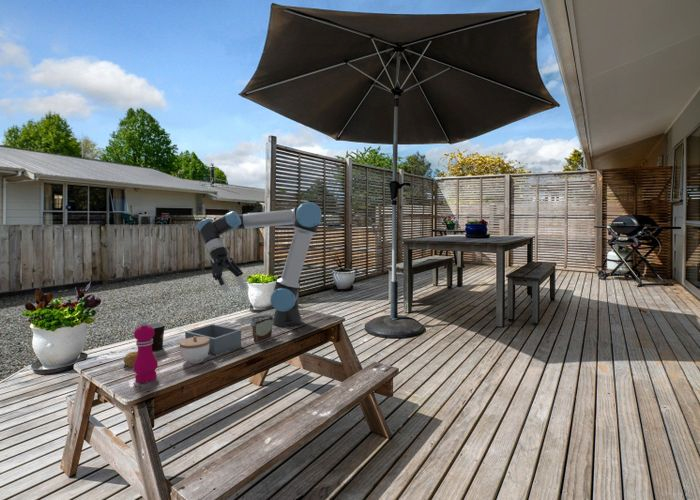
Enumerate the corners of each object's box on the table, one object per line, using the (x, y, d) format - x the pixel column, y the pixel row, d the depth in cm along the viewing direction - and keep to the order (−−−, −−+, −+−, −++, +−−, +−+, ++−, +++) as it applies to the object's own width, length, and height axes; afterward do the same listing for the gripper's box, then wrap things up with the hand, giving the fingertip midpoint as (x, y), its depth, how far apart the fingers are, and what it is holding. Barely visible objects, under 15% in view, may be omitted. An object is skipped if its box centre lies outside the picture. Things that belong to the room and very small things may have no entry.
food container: (263, 334, 173) (263, 313, 172) (273, 336, 170) (273, 315, 169) (244, 341, 162) (244, 319, 162) (254, 344, 159) (254, 321, 158)
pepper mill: (128, 381, 121) (126, 322, 120) (147, 373, 128) (145, 317, 127) (144, 385, 119) (142, 325, 117) (162, 376, 126) (160, 319, 124)
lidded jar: (175, 361, 139) (174, 337, 139) (201, 353, 148) (201, 330, 147) (188, 368, 133) (187, 343, 132) (215, 359, 141) (215, 336, 140)
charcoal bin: (213, 339, 166) (212, 323, 165) (241, 345, 157) (241, 330, 156) (185, 348, 153) (185, 331, 153) (214, 356, 144) (214, 339, 144)
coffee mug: (155, 353, 147) (154, 329, 146) (137, 351, 149) (136, 327, 148) (174, 344, 159) (174, 321, 158) (157, 342, 160) (156, 320, 159)
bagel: (161, 361, 139) (160, 349, 139) (130, 371, 130) (129, 358, 130) (149, 355, 145) (148, 344, 145) (119, 364, 136) (118, 352, 136)
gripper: (227, 253, 185) (244, 290, 181) (192, 253, 161) (212, 296, 158) (238, 246, 183) (256, 284, 180) (205, 245, 159) (225, 288, 156)
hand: (235, 289), depth 169 cm, fingers open, 13 cm apart
